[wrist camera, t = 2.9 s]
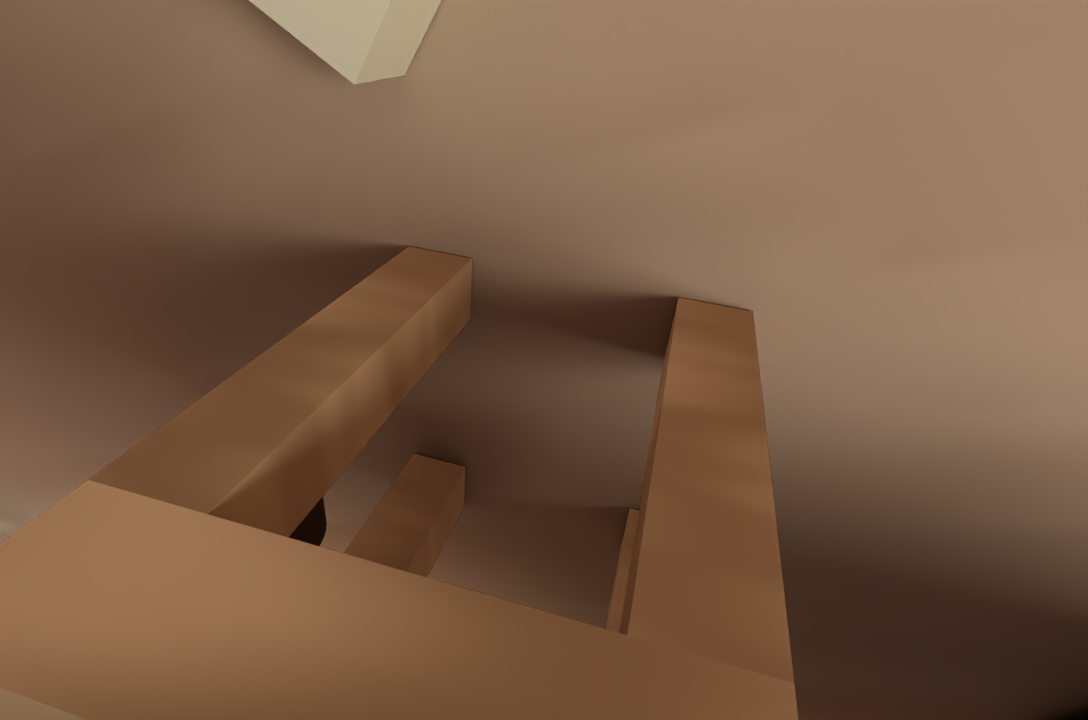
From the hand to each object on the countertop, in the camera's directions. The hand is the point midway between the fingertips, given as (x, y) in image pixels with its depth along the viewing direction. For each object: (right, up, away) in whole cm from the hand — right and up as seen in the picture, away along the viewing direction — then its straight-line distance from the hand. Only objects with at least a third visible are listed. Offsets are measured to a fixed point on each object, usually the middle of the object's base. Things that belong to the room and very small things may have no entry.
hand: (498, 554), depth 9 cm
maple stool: (+1, +2, +3) cm, 4 cm away
